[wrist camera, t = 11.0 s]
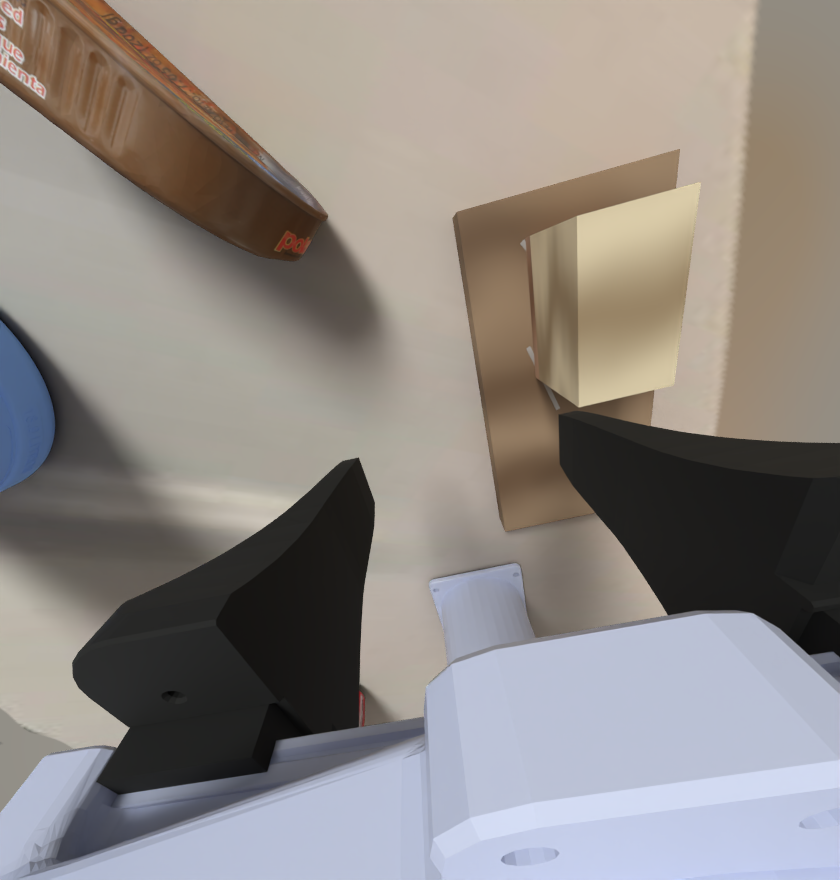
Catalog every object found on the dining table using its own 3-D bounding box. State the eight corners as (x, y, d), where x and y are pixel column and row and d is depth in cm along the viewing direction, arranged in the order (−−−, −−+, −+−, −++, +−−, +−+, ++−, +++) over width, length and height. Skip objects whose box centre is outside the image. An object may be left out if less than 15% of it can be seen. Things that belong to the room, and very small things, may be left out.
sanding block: (605, 360, 18) (673, 385, 13) (535, 377, 18) (578, 407, 13) (609, 214, 15) (700, 181, 10) (525, 237, 15) (576, 216, 10)
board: (628, 491, 24) (642, 503, 22) (499, 518, 24) (505, 531, 23) (655, 161, 15) (680, 149, 14) (452, 218, 16) (457, 211, 14)
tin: (347, 226, 16) (291, 170, 8) (314, 280, 17) (237, 274, 9) (-7, -103, 11) (-923, -965, 3) (-24, -2, 12) (-760, -494, 4)
